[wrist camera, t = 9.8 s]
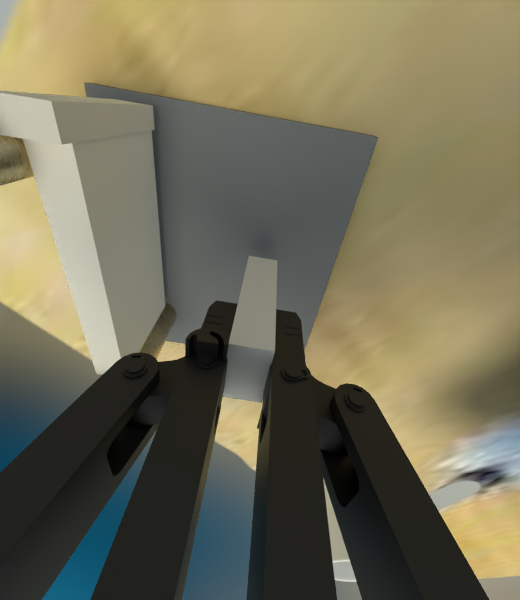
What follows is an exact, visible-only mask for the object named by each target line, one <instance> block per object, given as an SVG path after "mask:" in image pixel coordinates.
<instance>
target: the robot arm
mask: <svg viewBox="0 0 520 600" xmlns="http://www.w3.org/2000/svg"><path fill="white" fill-rule="evenodd" d="M276 296H277V260H272V259H266V258H260V257H254V256H249V257H248V262H247V266H246V270H245V275H244V279H243V283H242V288H241V292H240V296H239V301H238V304H236V303H230V302H224V301H218V300H216V301H215V302H214V303H213V304H212V305H210V306H209V308H208V311H207V314H206V316H205V319H204V323H203V324H202V327H201V329H197V330H195V331H193V332H191V333H189V335H188V336H187V337H186V339H185V343H186V356H185V357H183V358H180V359H178V360H172V361H164V362H158V361H157V360H156V358H155V357H154V356H152V355H150V354H147V353H142V352H140V353H132V354H129V355H126V356H124V357H122V358H121V359H119V360H118V361H117V362H115V363H114V364H113V365H112V366H111V367H110V368H109V369H108V370H107V371H106V372H105V373H104V374H103V375H102V376H101V377H100V378H99V379H98V380H97V381H96V382H95V383H94V384H93V385H92V386H90V387H89V388H88V389H87V390H86V391H85V392H84V393H83V394H82V395H81V396H80V397H79V398H78V399H77V400H76V401H75V402H74V403H73V404H72V405H70V406H69V407H68V408H67V409H66V410H65V411H64V412H63V413H62V414H61V415H60V416H59V417H58V418H57V419H56V420H55V421H54V422H53V423H52V424H51V425H50V426H49V427H47V428H46V429H45V430H44V431H43V432H42V433H41V434H40V435H39V436H38V437H37V438H36V439H35V440H34V441H33V442H32V443H31V444H30V445H29V446H28V447H27V448H25V449H24V451H22V452H21V453H20V454H19V455H18V456H17V457H16V458H15V459H14V460H13V461H12V462H11V463H10V464H9V465H8V466H7V467H6V468H4V470H2V471H1V472H0V600H42V598H43V597H44V595H45V594H46V592H47V591H48V590H49V588H50V587H51V585H52V584H53V582H54V581H55V579H56V578H57V576H58V575H59V573H60V572H61V570H62V569H63V567H64V566H65V564H66V563H67V561H68V560H69V558H70V557H71V555H72V554H73V553H74V551H75V550H76V548H77V547H78V545H79V544H80V542H81V541H82V539H83V538H84V536H85V535H86V533H87V532H88V530H89V529H90V527H91V526H92V524H93V523H94V521H95V520H96V518H97V517H98V515H99V514H100V512H101V511H102V510H103V508H104V507H105V505H106V503H107V502H108V501H109V499H110V498H111V496H112V495H113V493H114V492H115V490H116V489H117V487H118V486H119V484H120V483H121V481H122V480H123V479H124V477H125V475H126V474H127V473H128V471H129V469H130V468H131V467H132V465H133V464H134V462H135V461H136V459H137V458H138V456H139V455H140V453H141V452H142V450H143V449H144V447H145V446H146V444H147V443H148V441H149V440H150V439H151V437H152V436H153V434H154V432H155V431H156V430H157V431H156V434H155V437H154V439H153V442H152V444H151V447H150V449H149V452H148V454H147V457H146V459H145V462H144V465H143V467H142V470H141V472H140V475H139V478H138V480H137V482H136V485H135V488H134V490H133V493H132V495H131V498H130V500H129V503H128V505H127V508H126V511H125V513H124V516H123V518H122V521H121V523H120V526H119V528H118V531H117V534H116V536H115V539H114V541H113V544H112V547H111V549H110V552H109V554H108V556H107V559H106V562H105V564H104V567H103V569H102V572H101V574H100V577H99V579H98V582H97V584H96V587H95V590H94V592H93V595H92V597H91V600H182V595H183V591H184V586H185V581H186V577H187V571H188V566H189V562H190V557H191V552H192V547H193V542H194V537H195V532H196V527H197V522H198V518H199V512H200V508H201V503H202V498H203V493H204V488H205V483H206V478H207V473H208V469H209V463H210V458H211V454H212V449H213V444H214V439H215V434H216V429H217V424H218V419H219V415H220V409H221V401H222V397H228V398H235V399H242V400H248V401H255V402H261V403H262V400H263V406H262V411H261V415H260V419H259V423H258V426H257V428H258V429H259V438H258V452H257V465H256V479H255V492H254V506H253V520H252V533H251V547H250V561H249V574H248V587H247V600H337V596H336V587H335V578H334V569H333V560H332V551H331V543H330V534H329V525H328V516H327V507H326V498H325V489H324V481H325V485H326V488H327V491H328V494H329V497H330V500H331V503H332V506H333V509H334V513H335V516H336V519H337V522H338V525H339V528H340V531H341V534H342V538H343V541H344V544H345V547H346V550H347V553H348V556H349V559H350V562H351V566H352V569H353V572H354V575H355V578H356V581H357V584H358V587H359V590H360V594H361V597H362V600H489V598H488V597H487V595H486V593H485V591H484V590H483V588H482V586H481V584H480V583H479V581H478V579H477V577H476V576H475V574H474V572H473V570H472V569H471V567H470V565H469V564H468V562H467V560H466V558H465V557H464V555H463V553H462V551H461V550H460V548H459V546H458V544H457V543H456V541H455V539H454V537H453V536H452V534H451V532H450V530H449V529H448V527H447V525H446V524H445V522H444V520H443V518H442V517H441V515H440V513H439V511H438V510H437V508H436V506H435V504H434V503H433V501H432V499H431V498H430V496H429V494H428V492H427V491H426V489H425V487H424V485H423V484H422V482H421V480H420V478H419V477H418V475H417V473H416V471H415V470H414V468H413V466H412V464H411V463H410V461H409V459H408V457H407V456H406V454H405V452H404V451H403V449H402V447H401V445H400V444H399V442H398V440H397V438H396V437H395V435H394V433H393V431H392V430H391V428H390V426H389V424H388V423H387V421H386V419H385V418H384V416H383V414H382V412H381V411H380V409H379V407H378V405H377V404H376V402H375V400H374V399H373V398H372V396H371V395H370V394H369V393H368V392H367V391H366V390H364V389H363V388H361V387H359V386H357V385H354V384H343V385H340V386H339V387H338V388H337V389H335V388H333V387H330V386H328V385H326V384H323V383H322V382H320V381H318V380H317V379H315V378H314V377H313V376H312V375H311V373H310V370H309V369H308V368H307V367H306V364H305V354H304V344H303V333H302V323H301V319H300V318H299V316H298V315H297V313H296V312H290V311H284V310H278V309H276ZM157 428H158V429H157ZM323 478H324V481H323Z"/></svg>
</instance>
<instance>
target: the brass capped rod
mask: <svg viewBox="0 0 520 600" xmlns="http://www.w3.org/2000/svg"><path fill="white" fill-rule="evenodd" d="M33 176H34V174H33V171H32V168H31V164H30V161H29V158H28V155H27V152H26V149H25V145H24V142H23V139H22V138H16V137H10V136H3V135H0V185H4V184H8V183H11V182H15V181H19V180H22V179H26V178H30V177H33Z"/></svg>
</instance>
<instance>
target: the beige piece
mask: <svg viewBox="0 0 520 600" xmlns="http://www.w3.org/2000/svg"><path fill="white" fill-rule="evenodd" d="M152 130H155V128H154V114H153V105H147V104H141V103H135V102H129V101H123V100H117V99H105V98H91V97H78V96H64V95H50V94H36V93H22V92H9V91H0V135H3V136H10V137H16V138H22V139H23V142H24V145H25V149H26V152H27V155H28V158H29V161H30V164H31V168H32V171H33V174H34V177H35V180H36V183H37V187H38V190H39V193H40V196H41V199H42V202H43V206H44V209H45V212H46V215H47V218H48V221H49V225H50V228H51V231H52V234H53V237H54V240H55V244H56V247H57V250H58V253H59V256H60V259H61V263H62V266H63V269H64V272H65V275H66V279H67V282H68V285H69V288H70V291H71V294H72V298H73V301H74V304H75V307H76V310H77V313H78V317H79V320H80V323H81V326H82V329H83V332H84V336H85V339H86V342H87V345H88V348H89V351H90V355H91V358H92V361H93V364H94V367H95V370H96V373H97V374H104V373H105V372H106V371H107V370H108V369H109V368H110V367H111V366H112V365H113V364H114V363H115V362H117V361H118V360H119V359H121V358H122V357H124V356H126V355H129V354H132V353H139V352H140V350H141V348H142V346H143V345H144V343H145V341H146V339H147V337H148V336H149V334H150V332H151V330H152V329H153V327H154V325H155V323H156V321H157V320H158V318H159V316H160V314H161V313H162V311H163V309H164V307H165V295H164V282H163V269H162V256H161V243H160V231H159V218H158V205H157V192H156V179H155V166H154V154H153V141H152Z"/></svg>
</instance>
